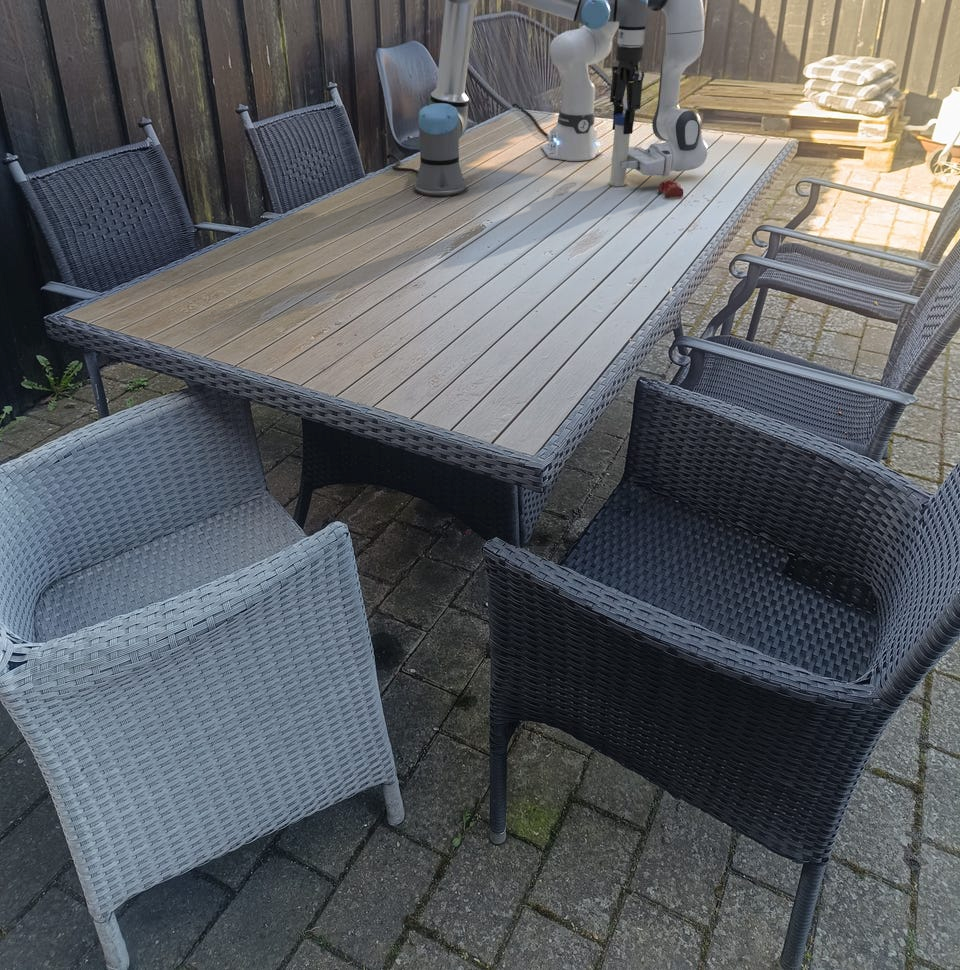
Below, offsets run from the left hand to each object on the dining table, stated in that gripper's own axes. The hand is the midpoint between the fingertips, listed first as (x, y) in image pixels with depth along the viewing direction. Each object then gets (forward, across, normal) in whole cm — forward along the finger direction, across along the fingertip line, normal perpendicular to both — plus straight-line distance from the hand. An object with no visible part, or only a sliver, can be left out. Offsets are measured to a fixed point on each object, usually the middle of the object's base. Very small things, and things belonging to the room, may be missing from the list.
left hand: (622, 131), depth 254 cm
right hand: (+9, 0, -1) cm, 9 cm away
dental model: (+16, +16, +8) cm, 24 cm away
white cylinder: (+16, 0, 0) cm, 16 cm away
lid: (-4, 0, 0) cm, 4 cm away
